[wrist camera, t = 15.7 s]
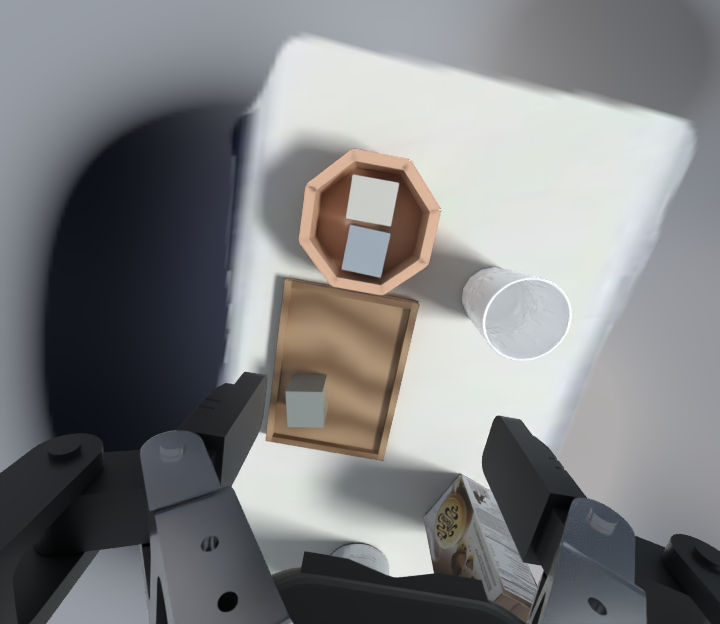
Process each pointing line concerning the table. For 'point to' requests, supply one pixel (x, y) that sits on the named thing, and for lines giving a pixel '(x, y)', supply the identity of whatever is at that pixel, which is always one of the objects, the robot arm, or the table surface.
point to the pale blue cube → (366, 250)
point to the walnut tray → (342, 364)
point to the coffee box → (479, 545)
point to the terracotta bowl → (331, 227)
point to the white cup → (517, 312)
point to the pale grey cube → (372, 200)
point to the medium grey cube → (307, 401)
